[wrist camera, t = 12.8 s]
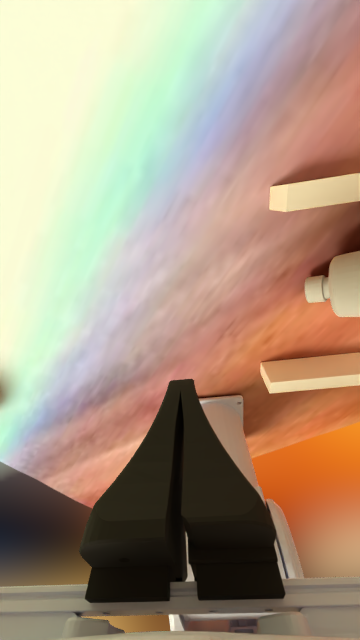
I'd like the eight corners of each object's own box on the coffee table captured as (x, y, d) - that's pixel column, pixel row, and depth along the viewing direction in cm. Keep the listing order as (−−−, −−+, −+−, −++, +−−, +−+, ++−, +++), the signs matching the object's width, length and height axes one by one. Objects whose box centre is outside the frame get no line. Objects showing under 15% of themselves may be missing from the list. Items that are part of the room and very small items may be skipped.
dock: (395, 359, 23) (422, 379, 21) (260, 372, 24) (269, 393, 22) (485, 152, 15) (551, 142, 12) (270, 186, 16) (288, 184, 13)
